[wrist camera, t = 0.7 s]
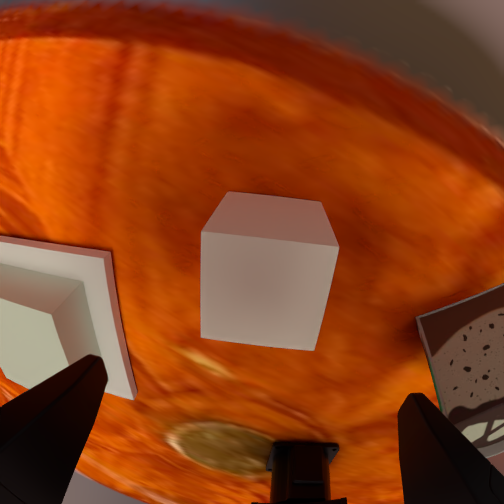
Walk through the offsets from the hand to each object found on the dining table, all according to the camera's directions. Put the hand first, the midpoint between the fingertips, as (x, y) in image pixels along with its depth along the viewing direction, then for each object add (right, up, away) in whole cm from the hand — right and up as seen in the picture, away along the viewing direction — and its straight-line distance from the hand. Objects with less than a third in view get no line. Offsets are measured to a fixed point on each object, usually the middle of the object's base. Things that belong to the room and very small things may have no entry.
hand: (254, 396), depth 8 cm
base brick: (-17, -2, +13) cm, 22 cm away
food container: (+16, -2, +11) cm, 20 cm away
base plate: (-17, -2, +14) cm, 22 cm away
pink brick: (+1, +5, +10) cm, 11 cm away
